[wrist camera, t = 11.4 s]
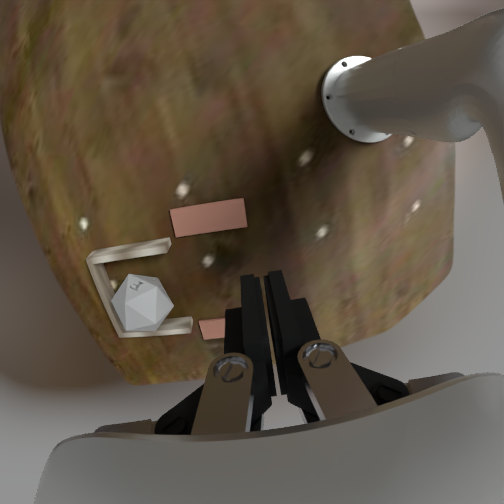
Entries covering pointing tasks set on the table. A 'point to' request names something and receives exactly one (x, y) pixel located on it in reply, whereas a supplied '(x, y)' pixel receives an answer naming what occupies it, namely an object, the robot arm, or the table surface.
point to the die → (141, 303)
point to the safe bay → (107, 292)
